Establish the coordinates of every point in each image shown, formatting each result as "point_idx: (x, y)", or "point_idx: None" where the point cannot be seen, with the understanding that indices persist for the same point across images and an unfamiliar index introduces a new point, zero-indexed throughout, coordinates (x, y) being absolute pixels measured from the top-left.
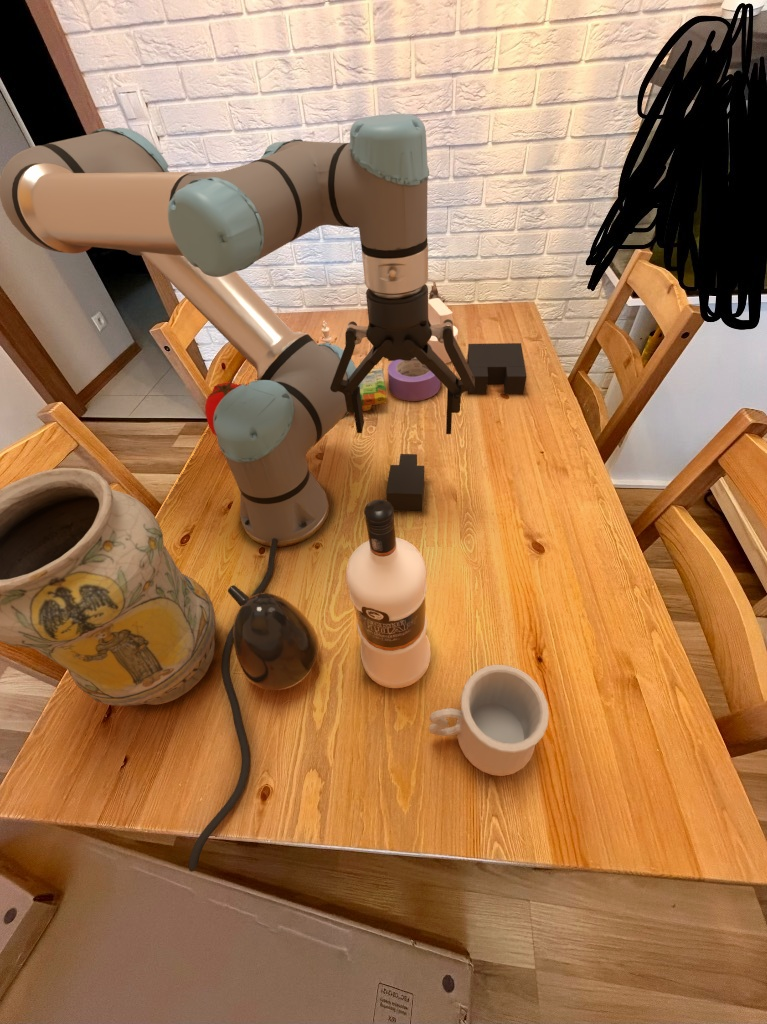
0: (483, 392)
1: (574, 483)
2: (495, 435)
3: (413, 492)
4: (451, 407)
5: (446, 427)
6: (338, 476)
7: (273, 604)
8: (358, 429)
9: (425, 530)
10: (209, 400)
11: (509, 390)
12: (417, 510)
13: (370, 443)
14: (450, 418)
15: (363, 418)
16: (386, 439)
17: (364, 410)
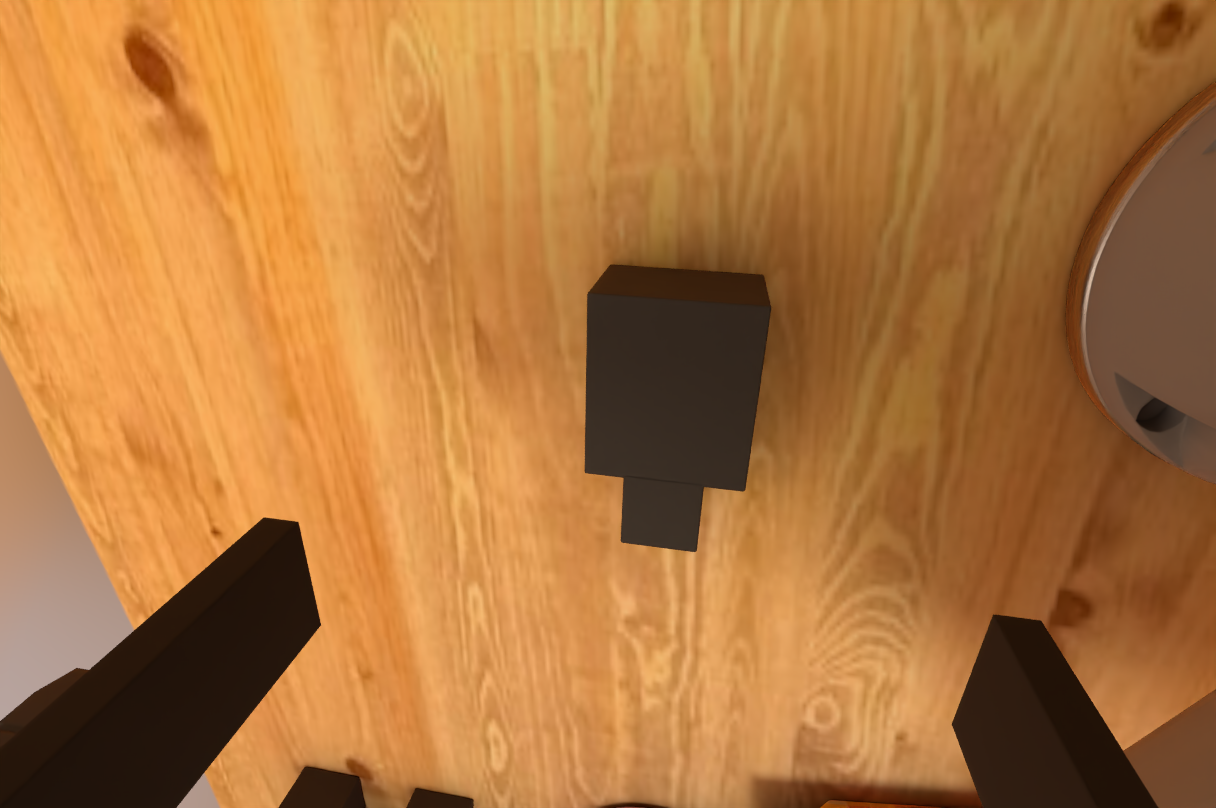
0: (420, 797)
1: (96, 389)
2: (368, 621)
3: (629, 304)
4: (32, 728)
5: (255, 562)
6: (991, 490)
7: None
8: (1039, 650)
9: (593, 154)
10: None
11: (338, 789)
12: (629, 267)
13: (828, 647)
14: (155, 623)
15: (970, 762)
16: (760, 657)
17: (846, 802)
